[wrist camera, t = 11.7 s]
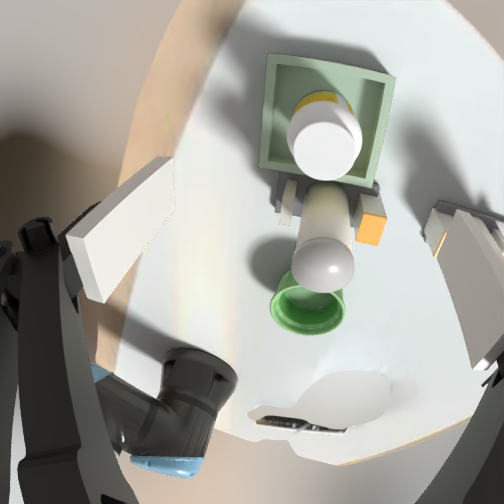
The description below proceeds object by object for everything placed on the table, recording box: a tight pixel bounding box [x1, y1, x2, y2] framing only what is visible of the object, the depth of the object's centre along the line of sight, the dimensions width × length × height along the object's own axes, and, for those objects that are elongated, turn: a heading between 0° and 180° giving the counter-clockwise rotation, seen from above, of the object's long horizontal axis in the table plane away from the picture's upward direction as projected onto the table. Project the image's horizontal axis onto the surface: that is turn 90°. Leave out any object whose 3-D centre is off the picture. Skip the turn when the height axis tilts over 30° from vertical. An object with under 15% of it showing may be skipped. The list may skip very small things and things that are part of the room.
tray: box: [258, 54, 396, 188], centre depth 25 cm, size 11×11×2 cm
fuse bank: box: [275, 171, 504, 293], centre depth 25 cm, size 27×5×12 cm, turn 88°
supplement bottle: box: [287, 90, 362, 180], centre depth 22 cm, size 5×5×10 cm
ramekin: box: [270, 269, 345, 336], centre depth 37 cm, size 9×9×4 cm
